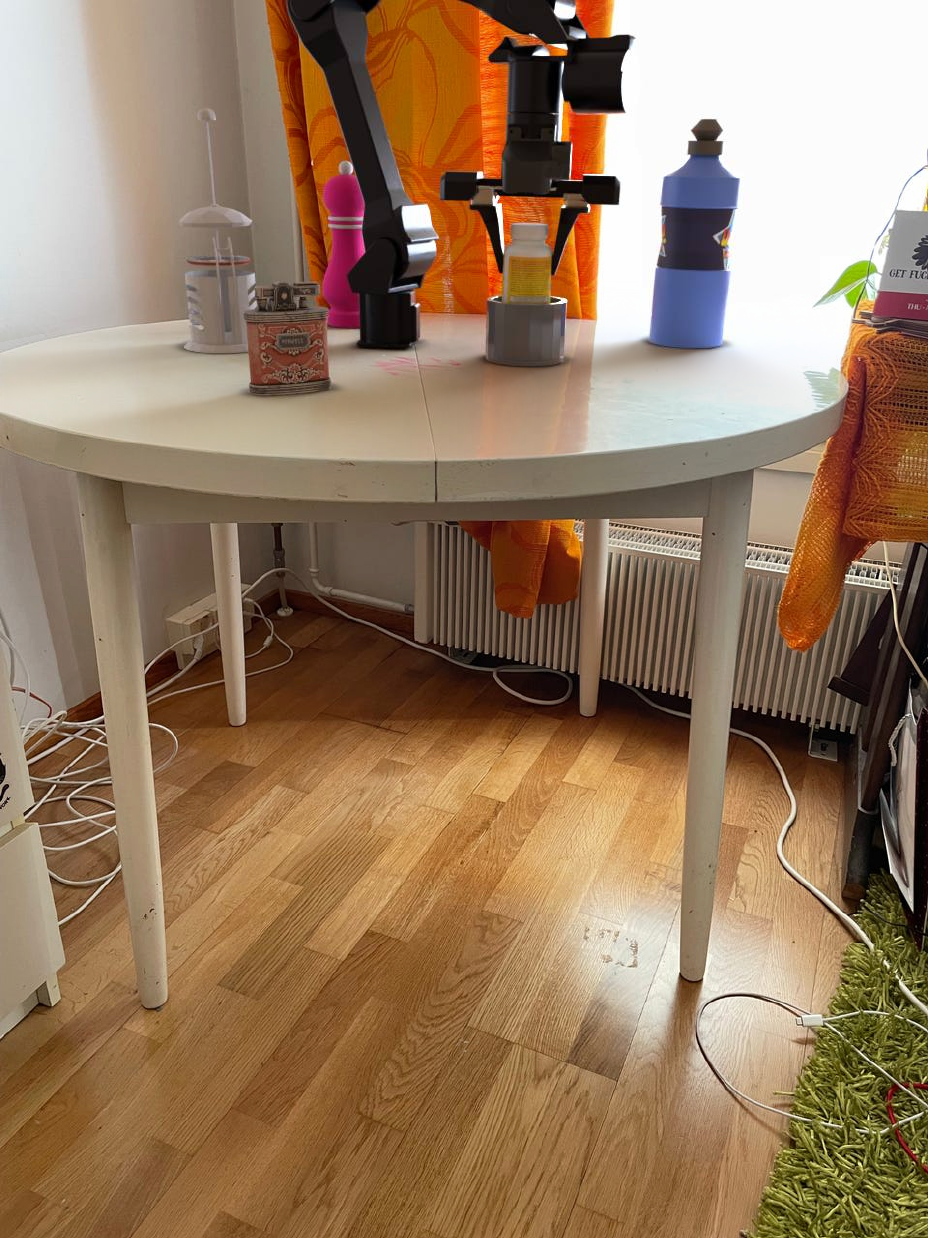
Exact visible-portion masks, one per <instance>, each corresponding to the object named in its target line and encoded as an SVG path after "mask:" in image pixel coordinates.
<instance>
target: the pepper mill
mask: <svg viewBox="0 0 928 1238" xmlns="http://www.w3.org/2000/svg"><path fill="white" fill-rule="evenodd" d="M338 172H339V173H340V174H338V175H334V176H333V177H331V178H329V179H328V180H327V182H326V183H325V185H324V186H323V187H324V188H323V192H322V193H323V194H322V200H323V201H322V202H323V204H324V206H325V207H326V209H327V210H328V211H329V213H330V215H329V216H327V220H328V224H327V227H328V228H330V229H331V235H332V247H331V248H332V249H331V255H330V259H329V263H328V265H327V268H326V270H325V273H324V276H323V280H322V291H321V292H322V293H321V294H322V296H323V298H324V300H325V301H326V303H328V305H329V306H330V309H328V317H327V326H330V327H332V328H339V329H341V328H342V329H360V321H359V293H352V292H351V289H350V285H349V282H348V279H347V273H348V272H349V271H350V270H351V269H352V267H353V266H354V265H355V264H356V263H357V262H358V260H359V259H360V258H361V257H362V256H363V254H364V253H365V250H364V244H363V238H362V222H363V214H364V201H363V198H362V194H361V191H360V188H359V185H358V182H357V178H356V175H354V174H352V173H353V172H354V169H353V165H352V162H351V161H348V160H343V161H341V162H340V163H339V165H338Z"/></svg>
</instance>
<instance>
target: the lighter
mask: <svg viewBox="0 0 928 1238" xmlns="http://www.w3.org/2000/svg"><path fill="white" fill-rule="evenodd" d="M254 289H255V298H254V299H255V301H256V300H257V308H256V309H253V310H245V311H243V312H244V320H245V321H246V326H247V339H248V352H247V353H248V363H249V365H248V366H249V377H250V379H249V380H250V382H249V383H248V390H249V394H250V395H253V396H281V395H293V394H294V395H295V394H296V395H297V394H304V393H305V394H306V393H314V392H321V391H328V390H331V389H332V378H331V377H330V369H329V368H330V365H329V364H330V363H329V343H328V342H329V341H328V324H327V317H328V310H329V308H328V307H325V306H316V305H315V306H313V305H312V306H311V305H310V306H309V301H308V299H307V297H320V296H321V285H320V284H319V283H318V281H295V282H294V281H293V283H292V284H289V283H288V282H286V281H283V280H274V281H273V282H272V283H271V285H254ZM295 298H299V299H298V305H297V303H296V302H295Z"/></svg>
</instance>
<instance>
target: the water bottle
mask: <svg viewBox="0 0 928 1238" xmlns="http://www.w3.org/2000/svg"><path fill="white" fill-rule="evenodd" d="M725 131H726V130H725V128H723V126H722V124H721V123H720V122H719V120H718V119H717V118H701V119H700V120H699V121H697V123H696V124H695V125H694V126H693V127H692V128H691V129H690V132H691V134H692V135H693V137H694V138H695V140H688V141H687V148H686V155H687V156H689V157H688V158H687V160H686V161H685V162H684V163H683V164H682V165H681V166H678V167H677V168H674V169H673V170H671V171H669V172H668V173H665V174H663V175H662V178H661V189H660V190H661V191H660V201H659V205H660V206H661V207H660V211H661V213H660V215H661V216H660V217H661V221H660V222H661V223H660V224H661V243H660V248H659V251H658V256H657V261H656V266H655V271H654V281H653V291H652V300H651V301H652V303H651V311H650V312H651V313H650V325H649V334H648V342H649V343H651V344H654V345H657V346H663V347H668V348H681V349H709V348H717V347H721V346H722V345H723V341H724V340H723V339H724V330H725V323H726V314H727V306H728V299H729V298H728V297H729V290H730V281H731V271H732V269H731V242H732V239H733V238H732V237H733V234H734V229H735V225H736V220H737V216H738V211H739V208H740V207H741V201H742V194H743V193H742V192H743V186H744V176H742V175H740V174H739V173H737V172H736V171H735V170H733V169H731V168H729V167H728V166H726V165H725V162H724V161H723V159H722V158H721V156H724V154H725V145H726V141H725V140H718V139H719V138H720V137H721V136H722V135H723V134H724V133H725Z"/></svg>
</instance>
